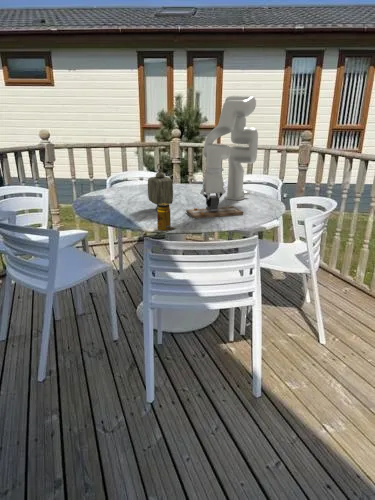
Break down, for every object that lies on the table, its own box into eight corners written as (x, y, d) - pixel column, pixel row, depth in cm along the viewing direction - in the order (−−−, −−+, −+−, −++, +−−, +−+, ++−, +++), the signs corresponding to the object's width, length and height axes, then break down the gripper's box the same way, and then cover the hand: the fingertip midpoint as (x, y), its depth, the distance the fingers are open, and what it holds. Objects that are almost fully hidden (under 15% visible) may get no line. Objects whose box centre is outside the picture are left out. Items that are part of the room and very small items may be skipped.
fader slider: (214, 208, 194) (215, 195, 191) (218, 211, 188) (219, 197, 186) (205, 208, 192) (206, 195, 190) (210, 211, 187) (210, 198, 184)
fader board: (233, 208, 201) (233, 204, 200) (243, 214, 190) (243, 210, 190) (186, 212, 193) (186, 208, 192) (193, 218, 182) (193, 214, 181)
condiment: (153, 229, 165) (153, 204, 161) (166, 225, 171) (165, 200, 167) (165, 232, 161) (164, 206, 157) (177, 228, 167) (177, 203, 163)
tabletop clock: (173, 211, 194) (173, 165, 185) (157, 213, 190) (156, 166, 181) (162, 205, 206) (161, 161, 197) (147, 207, 202) (146, 162, 193)
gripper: (225, 169, 189) (223, 203, 195) (195, 170, 184) (195, 205, 190) (231, 171, 182) (229, 206, 189) (201, 172, 177) (200, 208, 184)
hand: (212, 205), depth 190 cm, fingers closed on fader slider, 4 cm apart
